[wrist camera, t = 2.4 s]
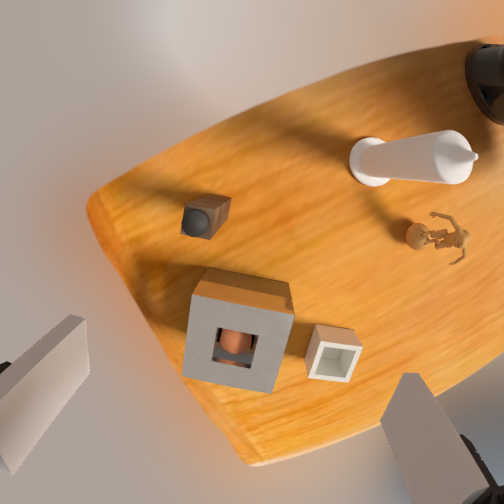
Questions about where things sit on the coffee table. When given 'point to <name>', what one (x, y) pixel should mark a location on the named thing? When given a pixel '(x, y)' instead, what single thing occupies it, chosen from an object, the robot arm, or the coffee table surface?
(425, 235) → the figurine
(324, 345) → the pen cup
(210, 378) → the grey box with hole
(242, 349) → the button
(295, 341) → the coffee table surface
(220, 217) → the wood knob block
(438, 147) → the candle
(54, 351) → the robot arm
